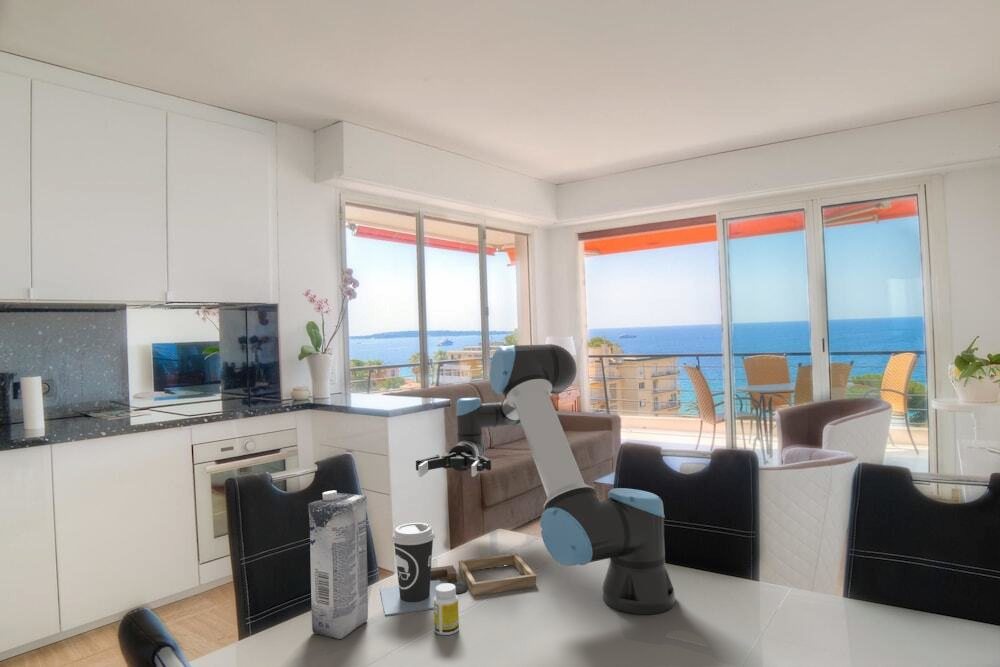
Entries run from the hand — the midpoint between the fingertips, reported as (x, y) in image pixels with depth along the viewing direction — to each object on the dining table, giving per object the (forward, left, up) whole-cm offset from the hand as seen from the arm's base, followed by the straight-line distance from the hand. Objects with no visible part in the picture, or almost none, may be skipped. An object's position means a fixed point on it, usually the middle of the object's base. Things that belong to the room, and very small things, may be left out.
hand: (446, 471), depth 150 cm
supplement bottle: (-31, +7, -24) cm, 40 cm away
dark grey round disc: (-13, +1, -24) cm, 28 cm away
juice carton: (-23, +27, -24) cm, 43 cm away
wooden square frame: (-10, -9, -24) cm, 28 cm away
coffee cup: (-14, +10, -24) cm, 30 cm away
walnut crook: (-6, +4, -24) cm, 25 cm away
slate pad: (-14, +11, -24) cm, 30 cm away
